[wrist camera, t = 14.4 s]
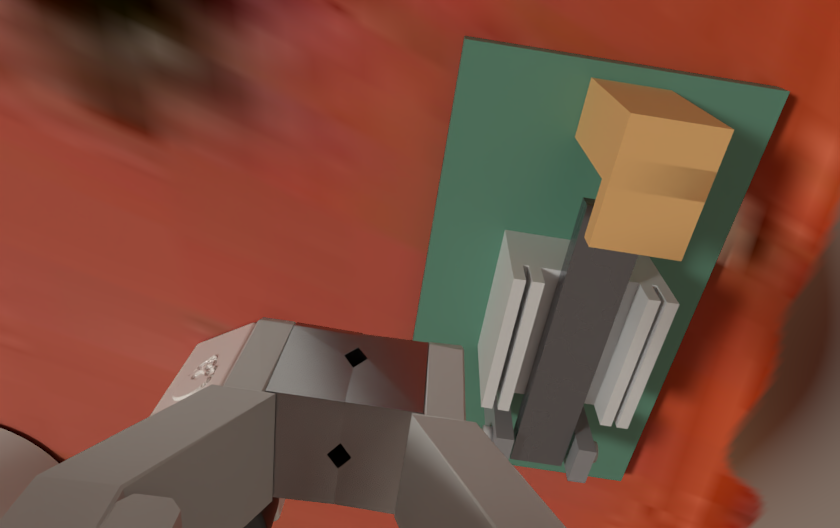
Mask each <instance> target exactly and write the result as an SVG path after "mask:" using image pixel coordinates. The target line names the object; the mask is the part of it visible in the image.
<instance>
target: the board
mask: <svg viewBox="0 0 840 528" xmlns="http://www.w3.org/2000/svg"><path fill="white" fill-rule="evenodd" d="M591 77H592V78H598V79H604V80H611V81H617V82H623V83H629V84H635V85H641V86H648V87H654V88H660V89H666V90H672V91H673V92H675V93H677V94H678V95H680V96H681V97H683V98H685V99H686V100H688V101H689V102H691V103H693V104H694V105H696V106H697V107H699V108H701V109H702V110H704V111H705V112H707V113H709V114H710V115H712V116H713V117H715V118H716V119H718V120H720V121H721V122H723V123H724V124H726V125H728V126H729V127H731V128H732V129H734V132H733V134H732V137H731V139H730V142H729V144H728V147H727V149H726V152H725V154H724V157H723V159H722V162H721V164H720V167H719V169H718V172H717V174H716V177H715V179H714V182H713V184H712V187H711V189H710V192H709V194H708V197H707V199H706V201H705V204H704V206H703V209H702V211H701V214H700V216H699V219H698V221H697V224H696V226H695V229H694V231H693V234H692V236H691V239H690V241H689V244H688V246H687V249H686V251H685V254H684V256H683V259H682V261H676V260H669V259H663V258H657V257H650V256H644V255H638V258H637V261H636V263H635V266H634V269H633V271H632V274H631V277H630V280H629V282H628V285H627V288H626V291H625V293H624V296H623V299H622V301H621V304H620V307H619V310H618V312H617V315H616V318H615V321H614V323H613V326H612V329H611V331H610V334H609V337H608V340H607V342H606V345H605V348H604V351H603V353H602V356H601V359H600V361H599V364H598V367H597V370H596V372H595V375H594V378H593V381H592V383H591V386H590V389H589V391H588V394H587V397H586V400H585V402H584V405H583V408H582V411H581V413H580V416H579V419H578V421H577V424H576V427H575V430H574V432H573V435H572V438H571V441H570V443H569V446H568V449H567V451H566V454H565V457H564V460H563V462H562V465H561V466H555V465H548V464H541V463H534V462H528V461H521V460H514V459H510V454H511V450H512V447H513V444H514V432H513V430H514V426H515V423H516V420H517V416H518V413H519V410H520V406H521V403H522V400H523V396H524V393H525V390H526V386H527V383H528V380H529V376H530V373H531V370H532V366H533V363H534V360H535V356H536V353H537V350H538V346H539V343H540V340H541V336H542V333H543V330H544V326H545V323H546V320H547V316H548V313H549V310H550V306H551V303H552V299H553V296H554V293H555V289H556V286H557V283H558V279H559V276H560V273H561V269H562V266H563V263H564V259H565V256H566V253H567V249H568V246H569V243H570V239H571V236H572V233H573V229H574V226H575V223H576V219H577V216H578V213H579V209H580V206H581V203H582V199H583V197H585V198H591V199H596V197H597V193H598V190H599V187H600V184H601V180H602V178H601V177H600V175H599V174H598V172H597V170H596V169H595V167H594V166H593V164H592V163H591V161H590V160H589V158H588V157H587V155H586V154H585V152H584V151H583V149H582V148H581V146H580V144H579V143H578V141H577V140H576V138H575V135H576V131H577V128H578V124H579V120H580V117H581V113H582V109H583V106H584V102H585V98H586V95H587V91H588V88H589V84H590V80H591ZM789 93H790V92H789V91H787V90H785V89H782V88H780V87H776V86H770V85H764V84H758V83H752V82H745V81H739V80H733V79H727V78H721V77H715V76H709V75H702V74H696V73H690V72H684V71H678V70H672V69H666V68H659V67H653V66H647V65H641V64H635V63H629V62H623V61H616V60H610V59H604V58H598V57H592V56H586V55H580V54H573V53H567V52H561V51H555V50H549V49H543V48H537V47H530V46H524V45H518V44H512V43H506V42H500V41H494V40H488V39H481V38H475V37H469V36H464V42H463V47H462V53H461V59H460V65H459V71H458V77H457V83H456V88H455V94H454V100H453V106H452V112H451V118H450V124H449V129H448V135H447V141H446V147H445V153H444V159H443V165H442V170H441V176H440V182H439V188H438V194H437V200H436V206H435V211H434V217H433V223H432V229H431V235H430V241H429V247H428V252H427V258H426V264H425V270H424V276H423V282H422V288H421V293H420V299H419V305H418V311H417V317H416V323H415V329H414V334H413V340H412V341H420V342H428V344H429V342H434V343H443V344H452V345H461V346H462V347H463V349H464V368H465V409H466V421H471V422H476V423H477V424H478V425H479V426H480V428H481V429H482V430H483V431H484V432H485V433H486V435H487V436H488V437H489V438H490V439H491V440H492V442H493V443H494V444H495V445H496V446H497V448H498V449H499V450H500V451H501V452H502V453H503V455H504V456H505V457H506V458H507V459H508V460H509V462H510V463H511V464H512V465H516V466H523V467H530V468H536V469H543V470H550V471H557V472H563V473H566V476H567V480H568V481H574V482H581V483H585V482H586V479H587V476H591V477H597V478H604V479H611V480H618V481H621V480H622V477H623V475H624V473H625V470H626V468H627V466H628V463H629V461H630V459H631V457H632V454H633V452H634V450H635V447H636V445H637V443H638V440H639V438H640V436H641V433H642V431H643V429H644V427H645V424H646V422H647V420H648V417H649V415H650V413H651V410H652V408H653V406H654V404H655V401H656V399H657V397H658V394H659V392H660V390H661V387H662V385H663V383H664V381H665V378H666V376H667V374H668V371H669V369H670V367H671V364H672V362H673V360H674V358H675V355H676V353H677V351H678V348H679V346H680V344H681V341H682V339H683V337H684V335H685V332H686V330H687V328H688V325H689V323H690V321H691V318H692V316H693V314H694V311H695V309H696V307H697V305H698V302H699V300H700V298H701V295H702V293H703V291H704V288H705V286H706V284H707V282H708V279H709V277H710V275H711V272H712V270H713V268H714V265H715V263H716V261H717V259H718V256H719V254H720V252H721V249H722V247H723V245H724V242H725V240H726V238H727V236H728V233H729V231H730V229H731V226H732V224H733V222H734V219H735V217H736V215H737V213H738V210H739V208H740V206H741V203H742V201H743V199H744V196H745V194H746V192H747V189H748V187H749V185H750V183H751V180H752V178H753V176H754V173H755V171H756V169H757V166H758V164H759V162H760V160H761V157H762V155H763V153H764V150H765V148H766V146H767V143H768V141H769V139H770V137H771V134H772V132H773V130H774V127H775V125H776V123H777V120H778V118H779V116H780V114H781V111H782V109H783V107H784V104H785V102H786V100H787V97H788V95H789Z"/></svg>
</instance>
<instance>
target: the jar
mask: <svg viewBox="0 0 840 528" xmlns="http://www.w3.org/2000/svg"><path fill="white" fill-rule="evenodd" d="M255 325H256V323H251V324H248V325H245V326H243V327H240V328H238V329H235V330H232V331H230V332H227V333H225V334H222V335H219V336H217V337H214V338H212V339H209V340H206V341H204V342H201V343H199V344H197V345H196V347H195V348H194V350H193V351H192V353H191V354H190V356H189V357H188V359H187V361H186V362H185V364H184V365H183V367H182V368H181V370H180V371H179V373H178V374H177V376H176V377H175V379H174V380H173V382H172V383H171V385H170V386H169V388H168V389H167V391H166V392H165V394H164V395H163V397H162V398H161V400H160V401H159V403H158V404H157V406H156V407H155V409H154V410H153V412H152V413H151V415H150V416H152V415H154V414H156V413H158V412H159V411H161V410H163V409H165V408H167V407H169V406H171V405H173V404H175V403H177V402H179V401H181V400H183V399H184V398H186V397H188V396H190V395H192V394H194V393H196V392H198V391H200V390H202V389H204V388H206V387H207V386H209V385H211V384H213V385H221V386H222V385H223V383H224V381H225V380H226V378H227V376H228V374H229V372H230V370H231V369H232V367H233V365H234V363H235V361H236V360H237V358H238V356H239V354H240V352H241V350H242V349H243V347H244V345H245V343H246V341H247V340H248V338H249V336H250V334H251V332H252V330H253V329H254V327H255ZM150 416H149V417H150ZM284 502H285V498H277V497H272V502H270V503H269V504H268V505H267V506H266V507H265V508H264V509H263V510H262V511H261V512H260V513H259V514H258V515H257V516H255V517H254V518H253V519H252V520H251V521H250V522H249V523H248V524H247V525H246V526H245V527H244V528H271V527H272V524H273V521H276V520H278V519H279V517H280V515H281V511H282V508H283V505H284Z"/></svg>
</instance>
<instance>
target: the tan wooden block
mask: <svg viewBox="0 0 840 528" xmlns="http://www.w3.org/2000/svg"><path fill="white" fill-rule="evenodd" d="M733 132H734V129H732V128H731V127H729V126H728V125H726V124H724V123H723V122H721V121H720V120H718V119H716V118H715V117H713V116H712V115H710V114H709V113H707V112H705V111H704V110H702V109H701V108H699V107H697V106H696V105H694V104H693V103H691V102H689V101H688V100H686V99H685V98H683V97H681V96H680V95H678V94H677V93H675V92H673V91H672V90H666V89H660V88H654V87H648V86H641V85H635V84H629V83H623V82H617V81H611V80H604V79H598V78H592V77H591V80H590V84H589V88H588V91H587V95H586V98H585V102H584V106H583V109H582V113H581V117H580V120H579V124H578V128H577V131H576V135H575V138H576V140H577V141H578V143H579V144H580V146H581V148H582V149H583V151H584V152H585V154H586V155H587V157H588V158H589V160H590V161H591V163H592V164H593V166H594V167H595V169H596V170H597V172H598V174H599V175H600V177H601V178H602V180H601V184H600V187H599V190H598V193H597V197H596V200H595V203H594V206H593V210H592V213H591V216H590V219H589V223H588V226H587V229H586V232H585V236H584V238H585V240H586V242H587V244H588V246H589V247H593V248H599V249H605V250H612V251H618V252H625V253H631V254H637V255H644V256H650V257H657V258H663V259H669V260H676V261H682V259H683V256H684V254H685V251H686V249H687V246H688V244H689V241H690V239H691V236H692V234H693V231H694V229H695V226H696V224H697V221H698V219H699V216H700V214H701V211H702V209H703V206H704V204H705V201H706V199H707V197H708V194H709V192H710V189H711V187H712V184H713V182H714V179H715V177H716V174H717V172H718V169H719V167H720V164H721V162H722V159H723V157H724V154H725V152H726V149H727V147H728V144H729V142H730V139H731V137H732V134H733Z"/></svg>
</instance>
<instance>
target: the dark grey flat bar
mask: <svg viewBox="0 0 840 528" xmlns="http://www.w3.org/2000/svg"><path fill="white" fill-rule="evenodd" d="M595 200H596V199H591V198H585V197H583V199H582V203H581V206H580V209H579V213H578V216H577V219H576V223H575V226H574V229H573V233H572V236H571V239H570V243H569V246H568V249H567V253H566V256H565V259H564V263H563V266H562V269H561V273H560V276H559V279H558V283H557V286H556V289H555V293H554V296H553V299H552V303H551V306H550V310H549V313H548V316H547V320H546V323H545V326H544V330H543V333H542V336H541V340H540V343H539V346H538V350H537V353H536V356H535V360H534V363H533V366H532V370H531V373H530V376H529V380H528V383H527V386H526V390H525V393H524V396H523V400H522V403H521V406H520V410H519V413H518V416H517V420H516V423H515V426H514V430H513V432H514V444H513V447H512V450H511V454H510V459H514V460H521V461H528V462H534V463H541V464H548V465H555V466H561V465H562V462H563V460H564V457H565V454H566V451H567V449H568V446H569V443H570V441H571V438H572V435H573V432H574V430H575V427H576V424H577V421H578V419H579V416H580V413H581V411H582V408H583V405H584V402H585V400H586V397H587V394H588V391H589V389H590V386H591V383H592V381H593V378H594V375H595V372H596V370H597V367H598V364H599V361H600V359H601V356H602V353H603V351H604V348H605V345H606V342H607V340H608V337H609V334H610V331H611V329H612V326H613V323H614V321H615V318H616V315H617V312H618V310H619V307H620V304H621V301H622V299H623V296H624V293H625V291H626V288H627V285H628V282H629V280H630V277H631V274H632V271H633V269H634V266H635V263H636V261H637V258H638V255H637V254H631V253H625V252H618V251H612V250H605V249H599V248H593V247H589V246H588V244H587V242H586V240H585V238H584V236H585V232H586V229H587V226H588V223H589V219H590V216H591V213H592V210H593V206H594V203H595Z"/></svg>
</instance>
